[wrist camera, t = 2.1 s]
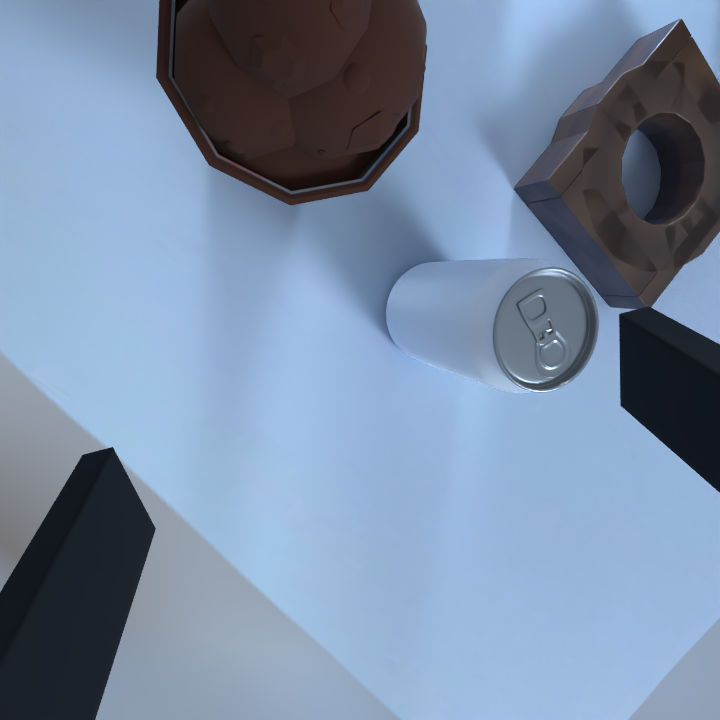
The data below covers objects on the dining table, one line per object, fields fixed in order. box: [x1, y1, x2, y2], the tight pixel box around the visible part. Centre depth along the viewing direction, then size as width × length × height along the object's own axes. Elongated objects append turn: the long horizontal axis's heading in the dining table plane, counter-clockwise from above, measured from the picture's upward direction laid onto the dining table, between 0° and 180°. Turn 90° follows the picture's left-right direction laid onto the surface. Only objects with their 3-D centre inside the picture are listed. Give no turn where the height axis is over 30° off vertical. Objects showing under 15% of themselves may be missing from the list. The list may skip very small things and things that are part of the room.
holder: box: [514, 18, 720, 309], centre depth 37 cm, size 13×14×4 cm
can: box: [386, 259, 599, 393], centre depth 29 cm, size 6×6×12 cm
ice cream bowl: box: [156, 0, 427, 205], centre depth 23 cm, size 11×11×15 cm
